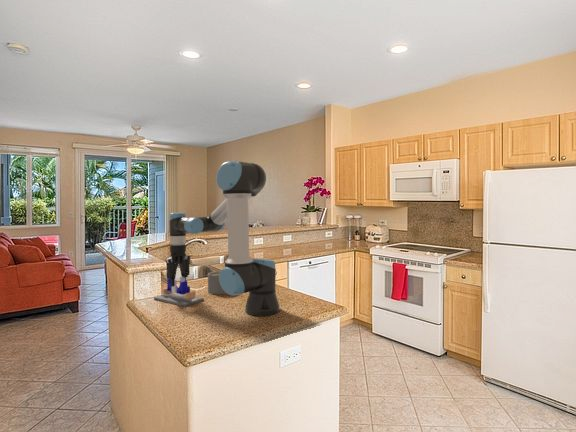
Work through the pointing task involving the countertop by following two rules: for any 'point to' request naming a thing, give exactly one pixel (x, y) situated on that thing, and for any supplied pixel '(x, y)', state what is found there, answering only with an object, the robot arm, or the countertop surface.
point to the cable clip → (182, 288)
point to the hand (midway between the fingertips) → (178, 291)
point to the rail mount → (179, 298)
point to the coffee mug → (214, 283)
